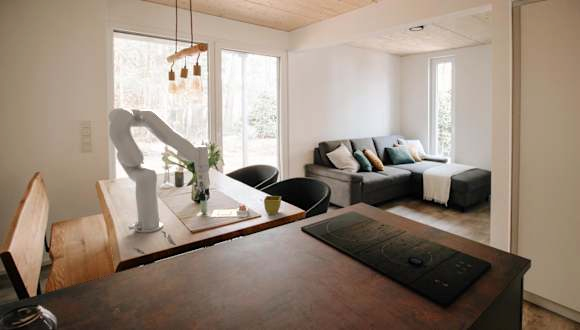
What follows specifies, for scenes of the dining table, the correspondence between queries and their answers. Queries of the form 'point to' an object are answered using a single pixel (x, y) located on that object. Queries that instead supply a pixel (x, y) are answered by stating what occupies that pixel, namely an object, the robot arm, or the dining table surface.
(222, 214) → the board
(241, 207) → the button
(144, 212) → the robot arm
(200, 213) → the coaster
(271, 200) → the flower pot
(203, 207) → the marker
